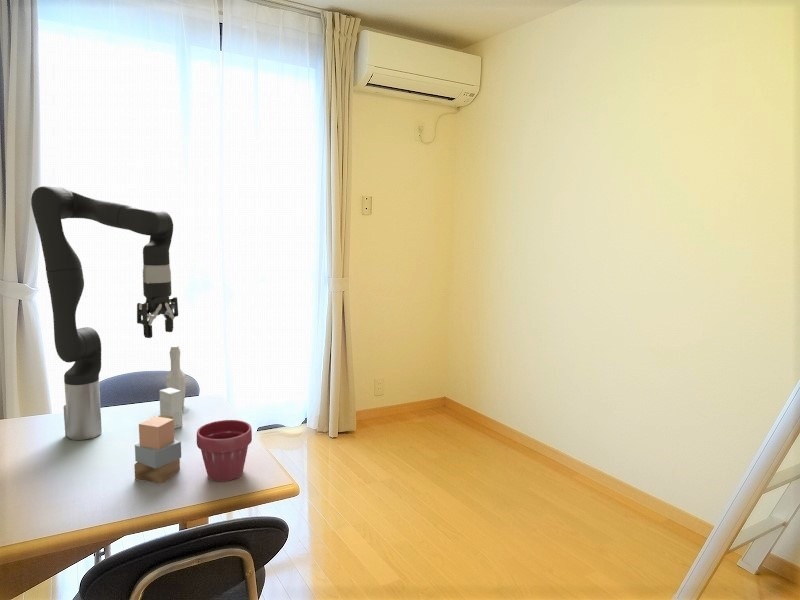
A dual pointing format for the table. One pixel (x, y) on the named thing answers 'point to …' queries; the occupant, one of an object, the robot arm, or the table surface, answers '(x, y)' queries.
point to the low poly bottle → (176, 373)
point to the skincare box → (171, 405)
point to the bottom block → (156, 471)
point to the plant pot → (224, 448)
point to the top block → (158, 454)
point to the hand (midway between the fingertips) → (159, 334)
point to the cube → (156, 432)
